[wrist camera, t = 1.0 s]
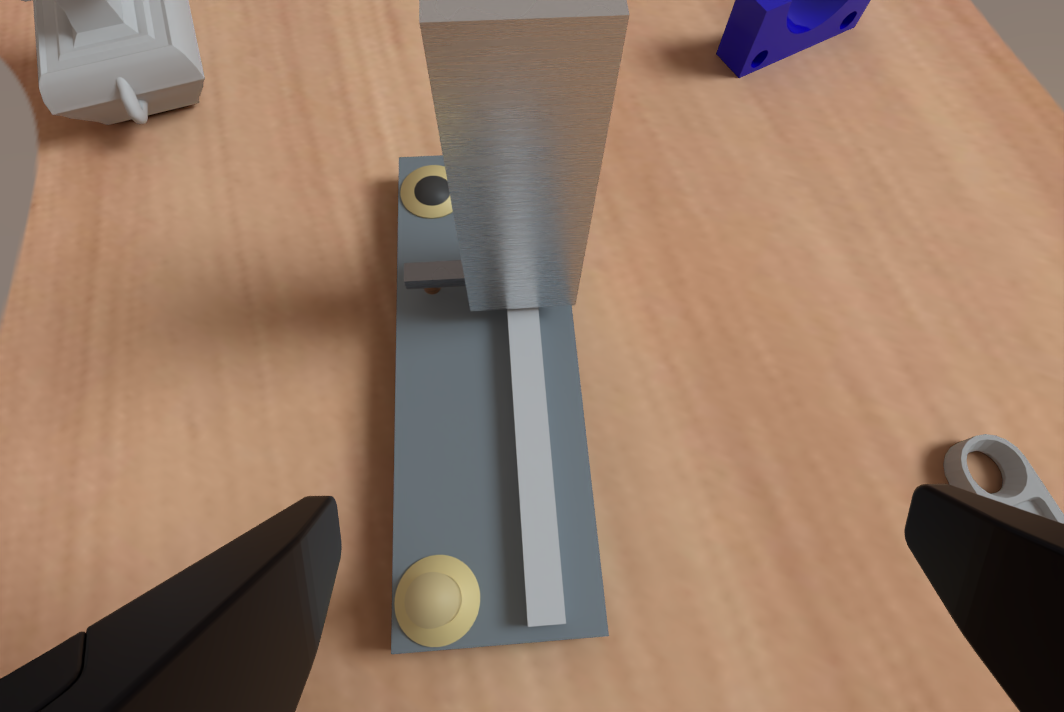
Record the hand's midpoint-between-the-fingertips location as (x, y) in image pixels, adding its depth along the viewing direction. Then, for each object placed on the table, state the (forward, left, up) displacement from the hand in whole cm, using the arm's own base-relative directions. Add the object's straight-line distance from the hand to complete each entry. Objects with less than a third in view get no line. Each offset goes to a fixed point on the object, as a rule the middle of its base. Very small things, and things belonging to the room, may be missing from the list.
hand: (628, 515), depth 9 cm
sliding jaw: (+6, +9, -11) cm, 16 cm away
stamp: (+4, +30, -13) cm, 33 cm away
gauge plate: (+4, +7, -13) cm, 15 cm away
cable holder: (+29, +9, -14) cm, 33 cm away
